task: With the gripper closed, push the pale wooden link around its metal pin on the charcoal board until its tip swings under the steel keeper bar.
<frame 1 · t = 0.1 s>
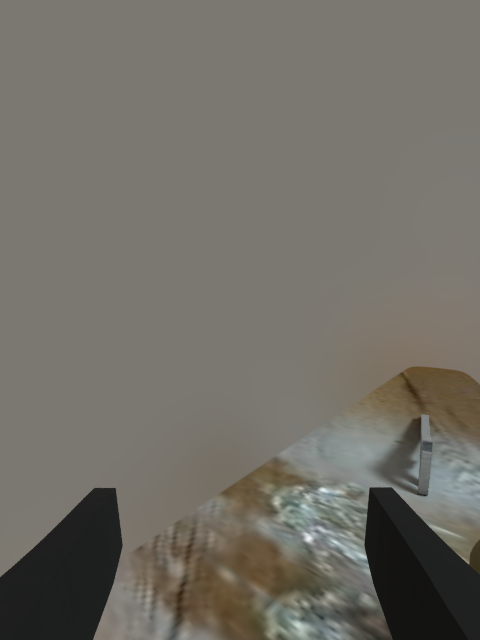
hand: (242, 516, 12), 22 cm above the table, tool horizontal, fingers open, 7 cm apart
caliper: (423, 454, 57), on the table
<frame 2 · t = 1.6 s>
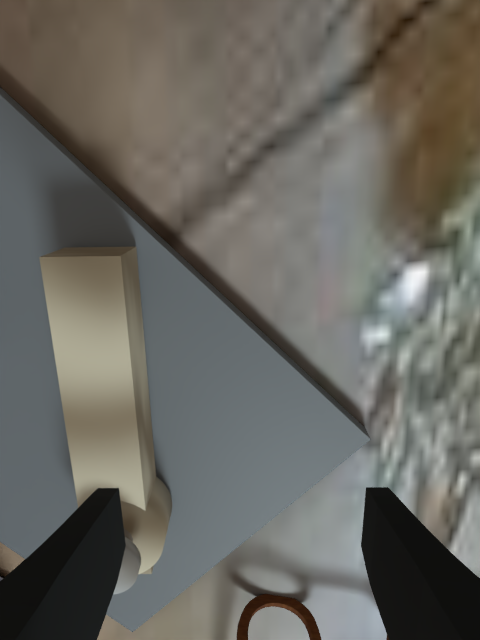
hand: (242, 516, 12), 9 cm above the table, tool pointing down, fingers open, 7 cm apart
charcoal board: (52, 379, 22), on the table
wooden link: (105, 431, 19), point 3 cm above the table, hinge at -45.0°
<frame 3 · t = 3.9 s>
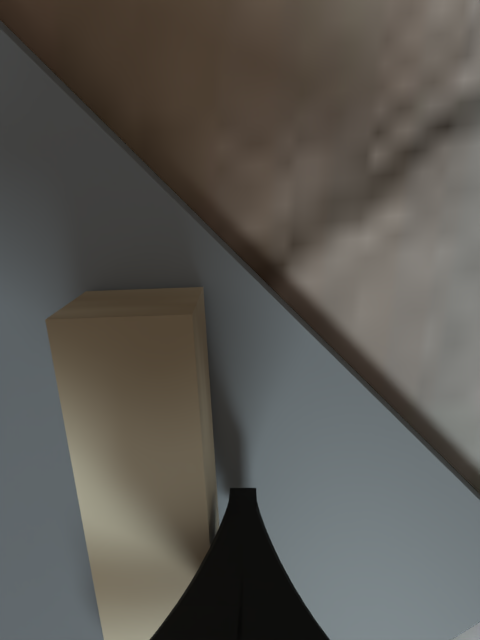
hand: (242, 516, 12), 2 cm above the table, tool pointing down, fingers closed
charcoal board: (73, 477, 14), on the table
wooden link: (158, 587, 12), point 3 cm above the table, hinge at -43.0°, touching gripper
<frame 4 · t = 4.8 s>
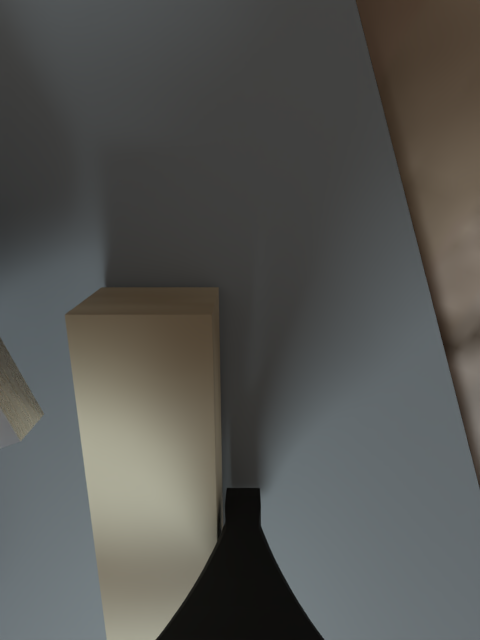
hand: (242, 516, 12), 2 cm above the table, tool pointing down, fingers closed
charcoal board: (159, 453, 14), on the table
steel keeper: (186, 621, 16), resting on charcoal board
wooden link: (162, 585, 12), point 3 cm above the table, hinge at -20.4°, touching gripper
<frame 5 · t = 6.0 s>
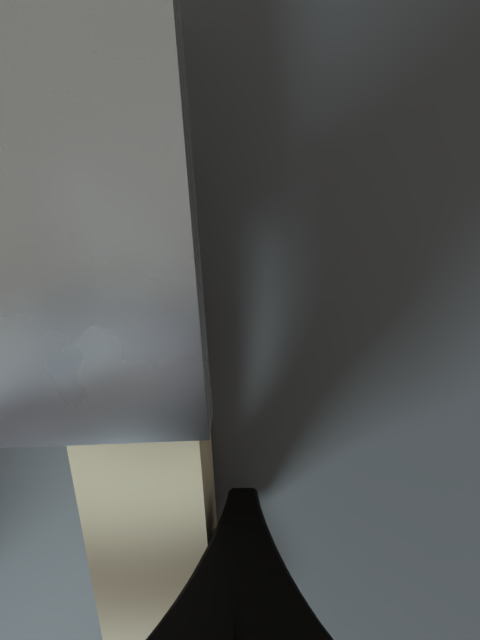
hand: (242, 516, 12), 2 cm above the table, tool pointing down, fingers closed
charcoal board: (230, 458, 14), on the table
steel keeper: (187, 622, 16), resting on charcoal board
wooden link: (156, 586, 12), point 3 cm above the table, hinge at -0.5°, touching gripper
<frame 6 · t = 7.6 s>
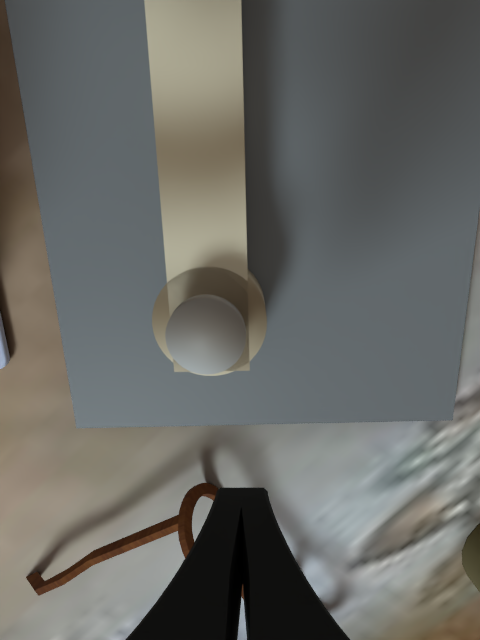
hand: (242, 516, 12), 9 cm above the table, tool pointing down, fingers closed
charcoal board: (255, 132, 18), on the table
glasses: (180, 587, 26), on the table
wooden link: (202, 174, 15), point 3 cm above the table, hinge at -0.3°
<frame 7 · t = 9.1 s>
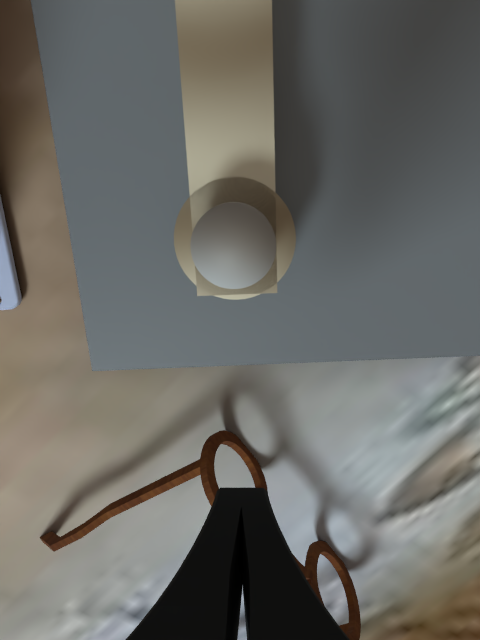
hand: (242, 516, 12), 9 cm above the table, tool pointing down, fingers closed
charcoal board: (278, 44, 17), on the table
glasses: (199, 547, 26), on the table
wooden link: (227, 75, 15), point 3 cm above the table, hinge at -0.3°
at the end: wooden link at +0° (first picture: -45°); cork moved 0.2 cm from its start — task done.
